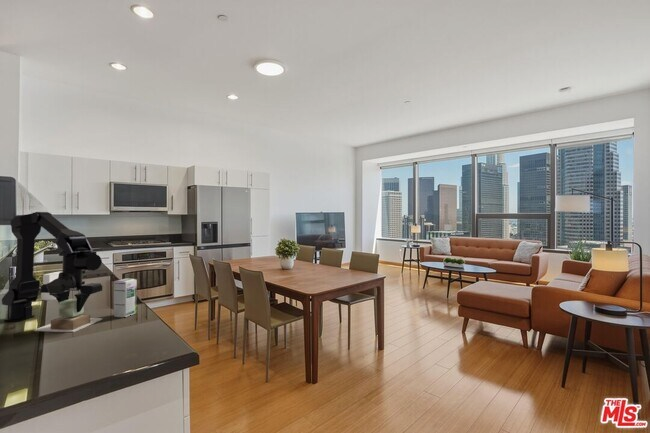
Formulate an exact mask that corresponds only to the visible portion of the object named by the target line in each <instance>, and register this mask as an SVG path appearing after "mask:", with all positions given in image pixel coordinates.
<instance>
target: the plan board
mask: <svg viewBox="0 0 650 433" xmlns="http://www.w3.org/2000/svg"><path fill="white" fill-rule="evenodd" d="M102 320H103V317H102V318H98V317H96V318H95V317H91V314H89V313H88V314H84V313H82V314H79V315H76V316H74V317H60V316H59V317H57V318H54V319H52V320H50V323H49V324H46V325H43V326H41V327H38V328H35V329H34V330H33V332H54V333H55V332H56V333H57V332H58V333H74V332H75V333H76V332H77V331H80V330H81V329H84V328H86V327H88V326H91V325H93V324H95V323H98V322H100V321H102Z"/></svg>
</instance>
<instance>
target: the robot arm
mask: <svg viewBox="0 0 650 433" xmlns="http://www.w3.org/2000/svg"><path fill="white" fill-rule="evenodd" d="M10 228H11V233H12V234H13V236H14V237H15V238H16V258H15V260H16V261H15V262H16V263H15V277H13V279H12V281H10V283H9V285H8V291H7V292H6V293H5V294H4V295H3V297H2V298H1V304H2V306H7V318H3V320H7V322H21V321H24V320H27V319H30V318H33V317H35V315H36V314H33V305H32V302H35V301H37V300H38V296H39V293H40V294H41V293H50V295H52V296H54V297H56V300H57V302H58V303H59V302H62V301H65V300H69V299H70V298H69V297H70V295H71V294H70V293H71V291H72V292H75V291H76V292H77V291H78V293H76V294H75V293H74V295H73V296H74V297H75V299H77V312H80V311H81V309H82V307H83V306H84V307H85V304H86V302H87V300H88V298H89V297H90V296H91V295H93V294H96V293H99V292H102V291H103V284H102V283H97V282H94V283H93V282H91V283H87V284H86V283H85V282H86V281H85V280H83V274H85V273H86V271H97V270H98V269H100V267H101V265H102V262H103V261H102V258H101V256H100V255H99V254H97V251H96V250H93V247H92V246H91V245H90V242H89V240H88V239H87V236H86V235H85V234H83V232H82V233H81V232H80V231H76V230H73V229H70V228H69V227H67V226H66V225H65V224H63V222H61V221H59V220H58V219H57V218H55V217H54V216H53V215H52V212H51V213H50V212H48V211H34V212H31V213H28V214H23V215H15V216H14V217H13V218H12V219H11V220H10ZM42 229H44V230H45V231H46V232H48V233H49V234H50V235H52V237H54V238H55V240H56V243H55V244H56V245H57V246H58V247H59V248H60V249H61V250H62V251H61V252H60V253H58V256H59V257H62V271H60V273H59V277H58V278H57V279H55V280H53V281H51V282H50V283H47V284H43V283H42V285H41V284H40V283H41V282H40V280H39V279H38V280H37V279H36V277H35V276H34V266H35V265H34V264H35V263H34V262H35V261H34V260H35V241H36V240H35V239H36V238H37V237H38V235H39V234H40V233H41V230H42ZM40 285H41V286H40Z"/></svg>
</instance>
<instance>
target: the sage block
mask: <svg viewBox="0 0 650 433" xmlns="http://www.w3.org/2000/svg"><path fill="white" fill-rule="evenodd" d="M84 308H85V305H84V306H83V307H82V309H81V311H80V312H77V298H69V299H68V300H65V301H62V302H58V317H59V318H60V317H74V316H76V315H79V314H84V311H85V309H84Z"/></svg>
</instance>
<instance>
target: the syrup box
mask: <svg viewBox="0 0 650 433" xmlns="http://www.w3.org/2000/svg"><path fill="white" fill-rule="evenodd" d="M137 283H138V281H137V279H136V278H123V279H118V280H115V281H114V282H113V317H115V318H124V317H126V318H127V317H128V318H129V317H131V316H134V315H136V314H137V295H138V294H137V292H138V290H137V288H138V286H137V285H138V284H137ZM130 315H131V316H130Z"/></svg>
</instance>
